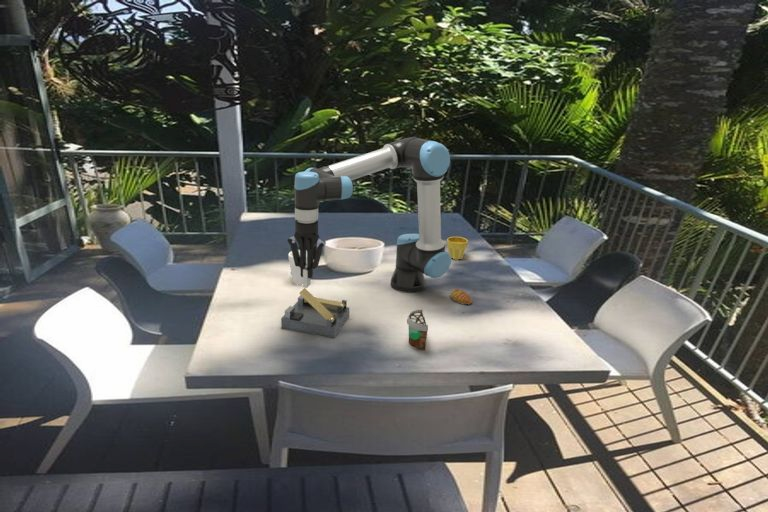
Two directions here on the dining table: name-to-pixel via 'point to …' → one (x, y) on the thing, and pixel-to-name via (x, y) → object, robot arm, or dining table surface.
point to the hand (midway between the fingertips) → (306, 285)
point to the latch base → (314, 319)
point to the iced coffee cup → (417, 329)
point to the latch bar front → (316, 304)
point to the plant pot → (457, 247)
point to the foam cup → (296, 270)
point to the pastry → (460, 296)
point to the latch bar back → (329, 303)
